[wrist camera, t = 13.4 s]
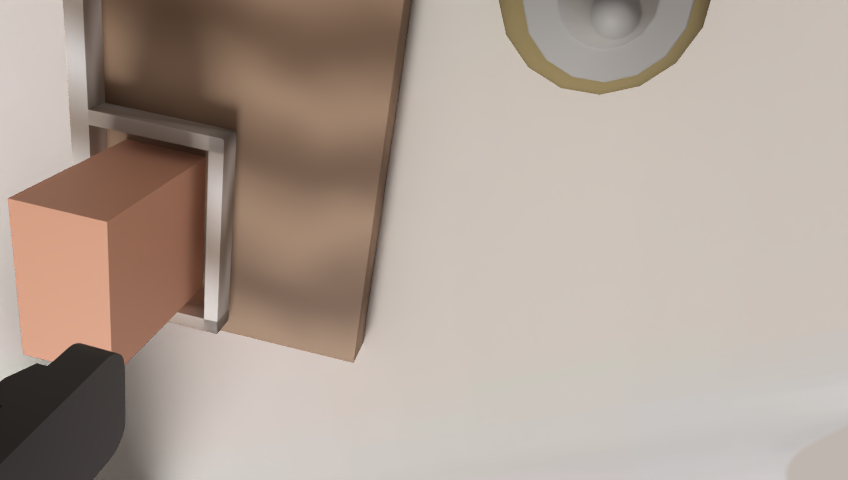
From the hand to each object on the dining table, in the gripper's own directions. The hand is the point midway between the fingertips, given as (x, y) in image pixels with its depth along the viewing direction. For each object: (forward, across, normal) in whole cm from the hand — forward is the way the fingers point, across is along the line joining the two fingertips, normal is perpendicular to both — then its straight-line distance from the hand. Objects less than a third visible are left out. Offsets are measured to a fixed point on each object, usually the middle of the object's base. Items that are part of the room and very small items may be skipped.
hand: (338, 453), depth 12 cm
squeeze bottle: (+27, -3, -6) cm, 28 cm away
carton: (+24, +16, +10) cm, 31 cm away
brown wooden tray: (+26, +12, +5) cm, 29 cm away
